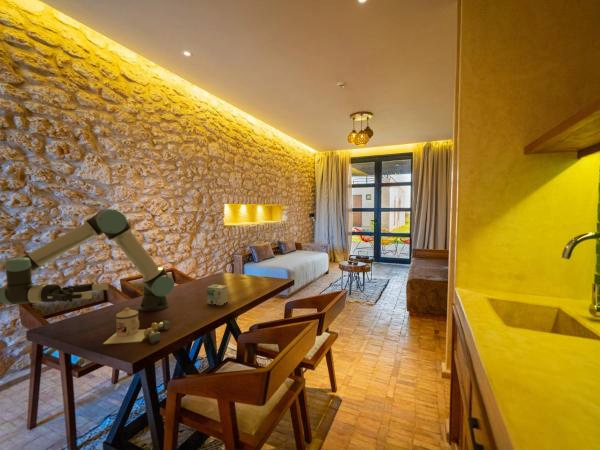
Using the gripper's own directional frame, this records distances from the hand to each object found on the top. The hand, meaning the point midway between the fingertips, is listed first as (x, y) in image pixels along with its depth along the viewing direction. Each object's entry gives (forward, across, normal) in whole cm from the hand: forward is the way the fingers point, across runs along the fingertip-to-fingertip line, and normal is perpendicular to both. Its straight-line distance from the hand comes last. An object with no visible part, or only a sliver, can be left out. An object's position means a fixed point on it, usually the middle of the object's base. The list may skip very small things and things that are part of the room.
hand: (100, 290), depth 124 cm
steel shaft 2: (+23, -6, -22) cm, 32 cm away
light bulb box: (+44, -44, -23) cm, 66 cm away
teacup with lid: (+10, -3, -22) cm, 24 cm away
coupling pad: (+11, 0, -22) cm, 24 cm away
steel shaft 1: (+23, +5, -22) cm, 32 cm away
